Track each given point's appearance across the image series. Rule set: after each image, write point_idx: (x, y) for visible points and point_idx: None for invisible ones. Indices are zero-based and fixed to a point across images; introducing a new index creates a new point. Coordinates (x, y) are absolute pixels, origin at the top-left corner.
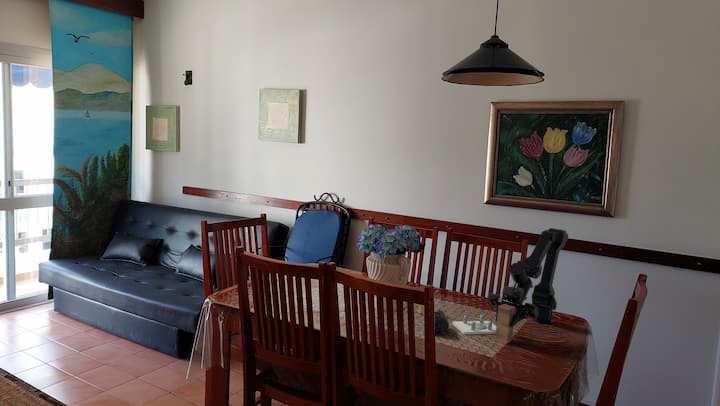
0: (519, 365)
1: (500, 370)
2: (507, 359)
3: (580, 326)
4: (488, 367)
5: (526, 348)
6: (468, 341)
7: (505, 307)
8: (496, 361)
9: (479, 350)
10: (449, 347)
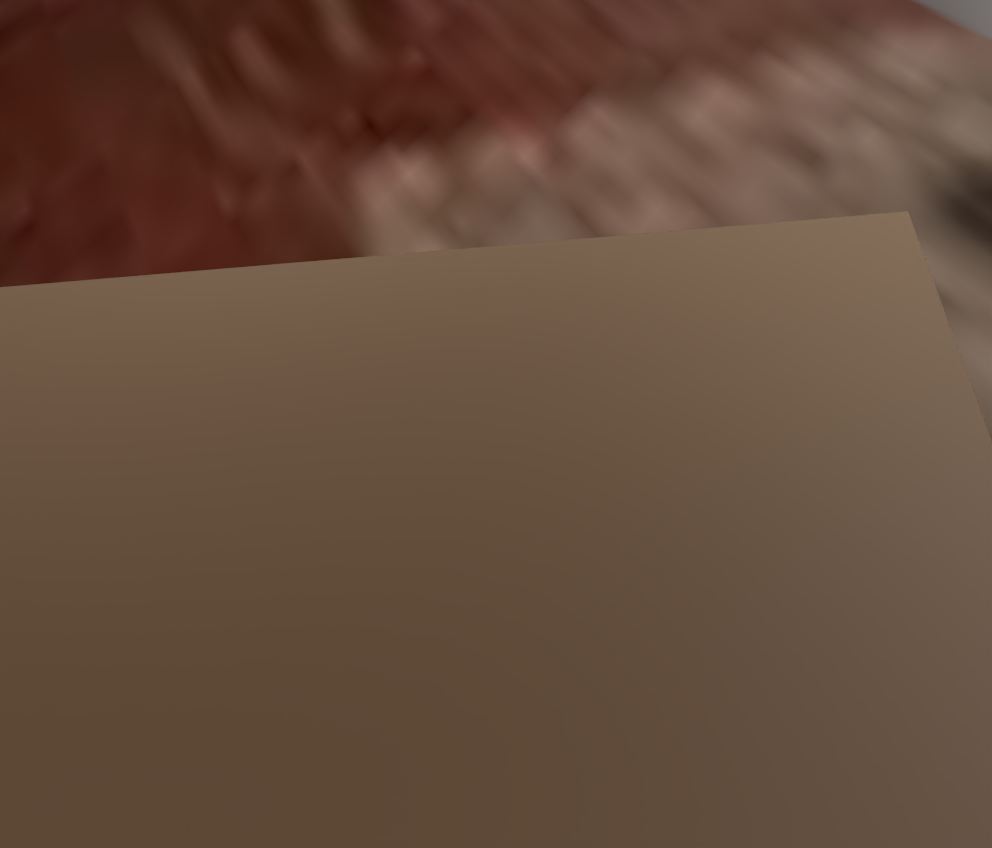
0: (40, 231)
1: (167, 35)
2: (193, 248)
3: None
4: (273, 3)
5: None
6: None
7: (354, 439)
8: (269, 129)
9: (551, 188)
10: (806, 11)
